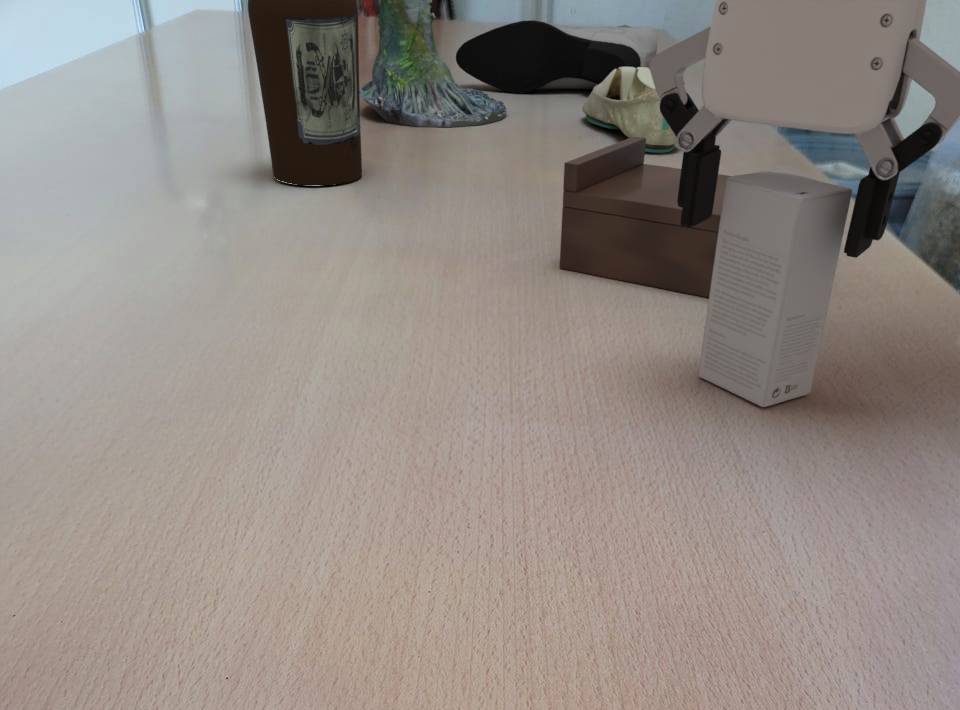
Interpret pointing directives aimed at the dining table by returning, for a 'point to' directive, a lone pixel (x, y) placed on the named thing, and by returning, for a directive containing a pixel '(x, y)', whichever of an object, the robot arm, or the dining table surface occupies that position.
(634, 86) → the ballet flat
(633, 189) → the shelf
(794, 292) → the cosmetic box
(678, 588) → the dining table surface
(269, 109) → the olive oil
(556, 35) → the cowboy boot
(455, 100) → the tree stump
